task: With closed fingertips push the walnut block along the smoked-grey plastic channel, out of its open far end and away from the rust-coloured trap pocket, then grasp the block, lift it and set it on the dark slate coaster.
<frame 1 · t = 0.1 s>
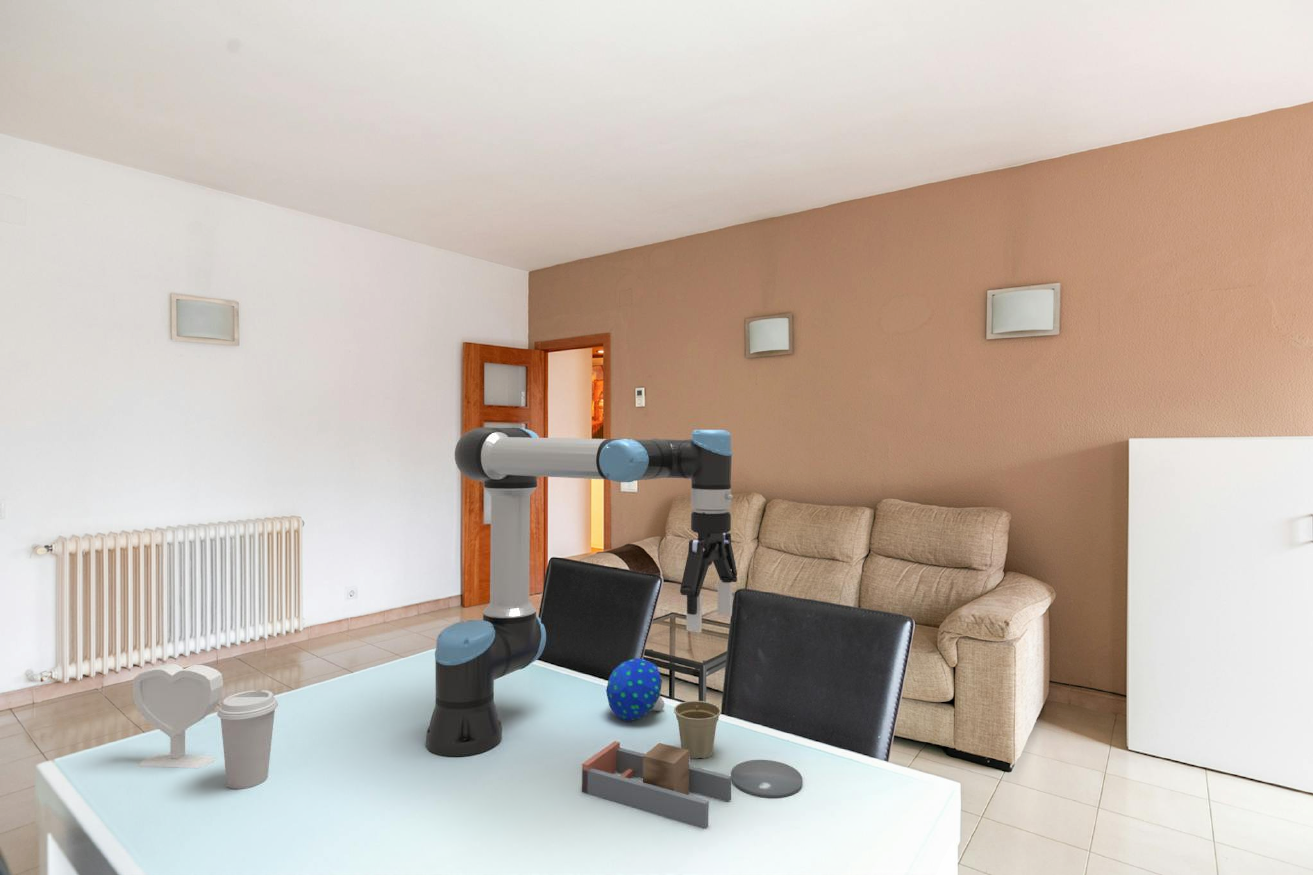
hand: (709, 623, 134), 28 cm above the table, fingers open, 13 cm apart
block: (665, 798, 124), resting in channel
channel: (655, 795, 125), on the table
coaster: (766, 779, 131), on the table
coffee cup: (247, 781, 129), on the table
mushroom: (635, 716, 160), on the table
flower pot: (697, 753, 142), on the table
heart sculpture: (177, 761, 136), on the table
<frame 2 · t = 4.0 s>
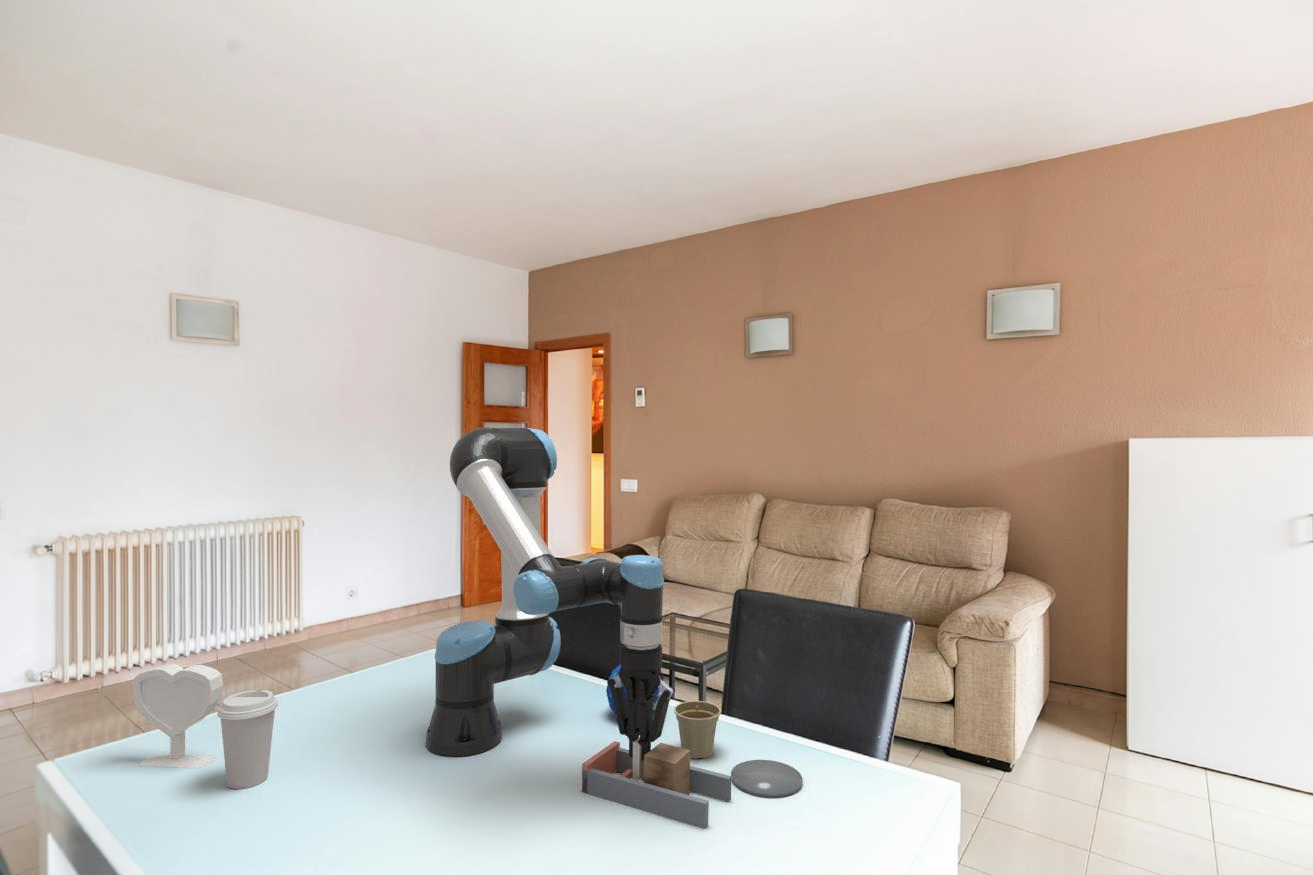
hand: (639, 776, 126), 3 cm above the table, fingers closed
block: (666, 798, 124), resting in channel, touching gripper
everything else where it was.
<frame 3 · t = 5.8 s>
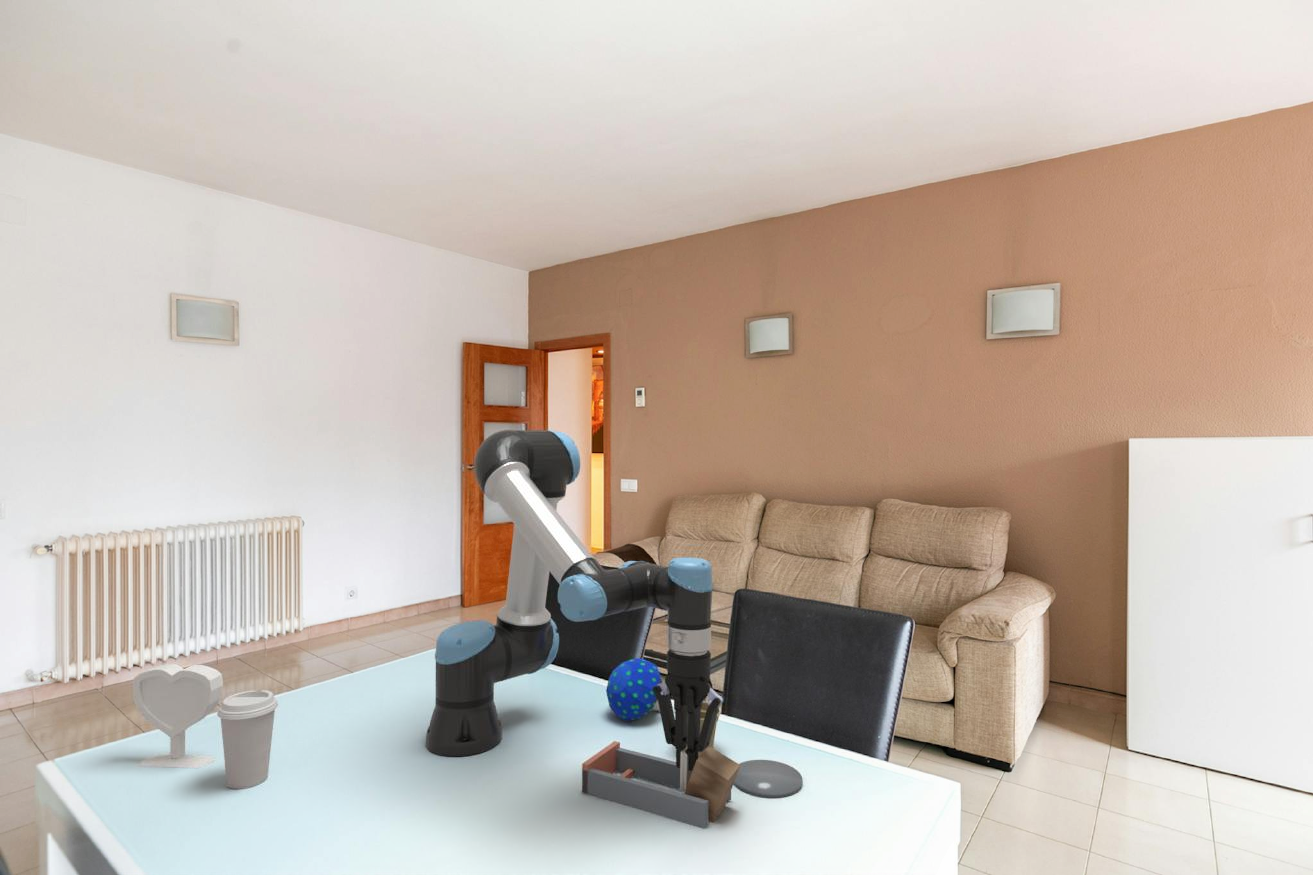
hand: (686, 787, 122), 3 cm above the table, fingers closed
block: (703, 803, 120), point 1 cm above the table, tilted 20°, touching gripper
everything else where it was.
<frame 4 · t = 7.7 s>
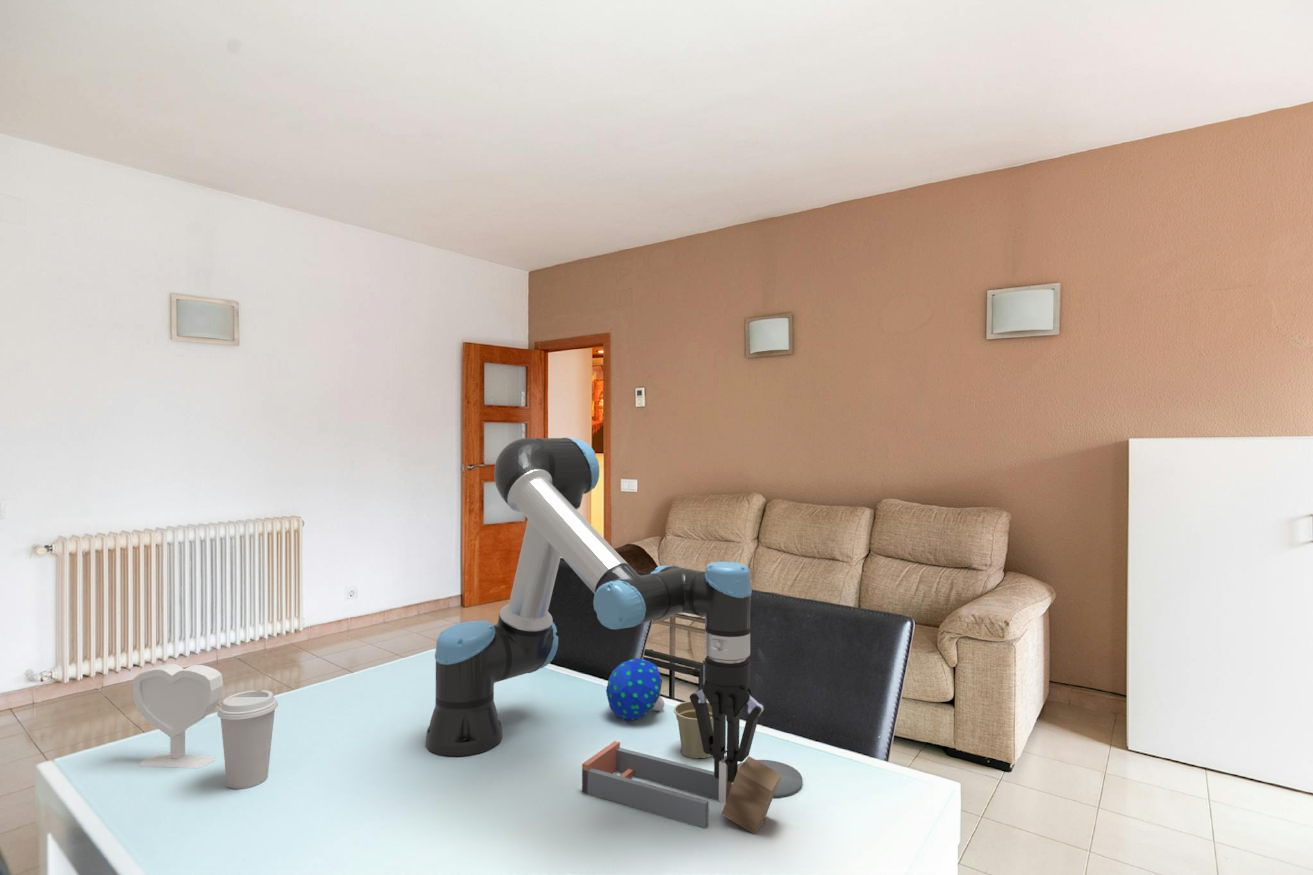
hand: (725, 798, 118), 3 cm above the table, fingers closed
block: (743, 815, 117), point 1 cm above the table, tilted 19°, touching gripper
everything else where it was.
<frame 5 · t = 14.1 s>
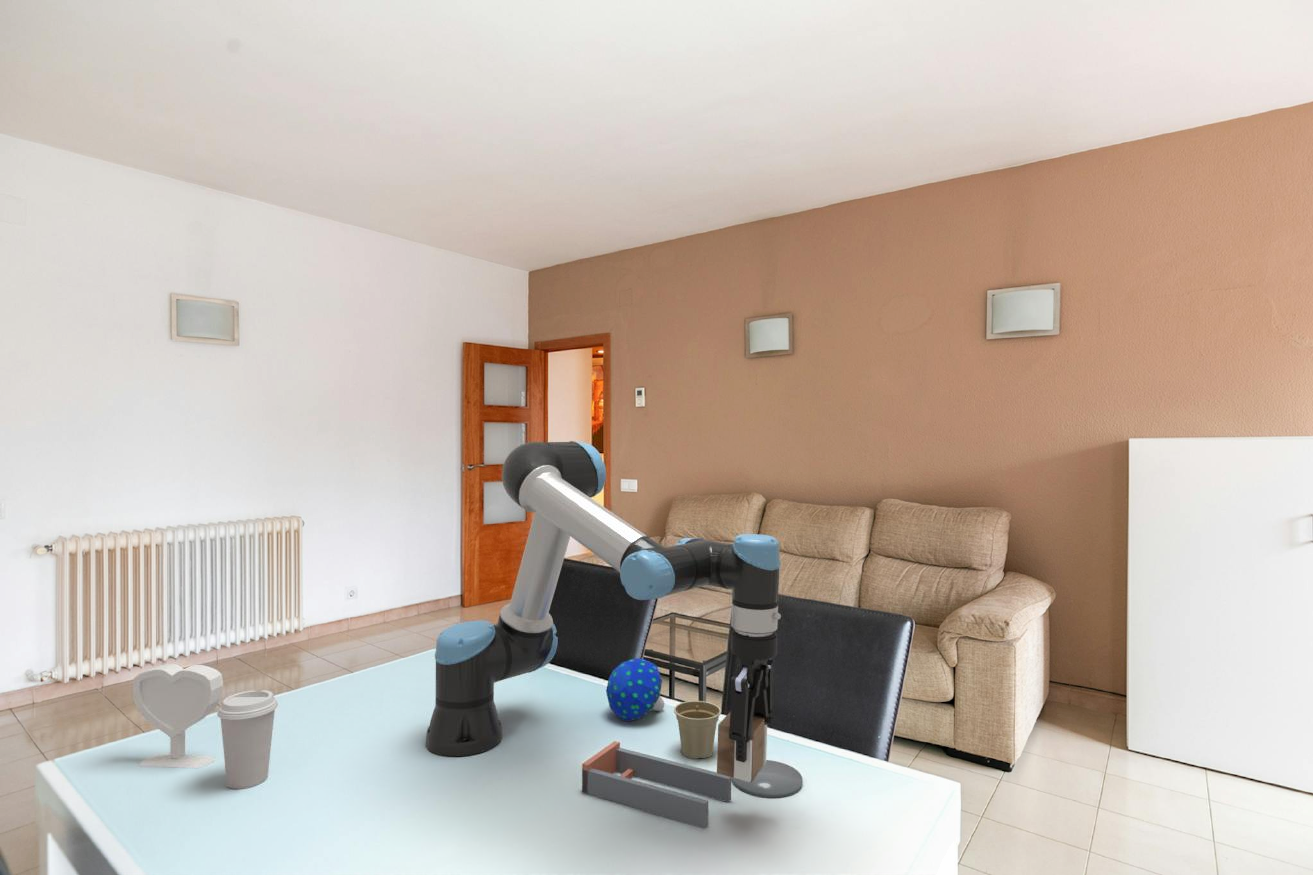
hand: (750, 769, 117), 9 cm above the table, fingers closed on block, 6 cm apart
block: (740, 769, 117), point 8 cm above the table, touching gripper
everything else where it was.
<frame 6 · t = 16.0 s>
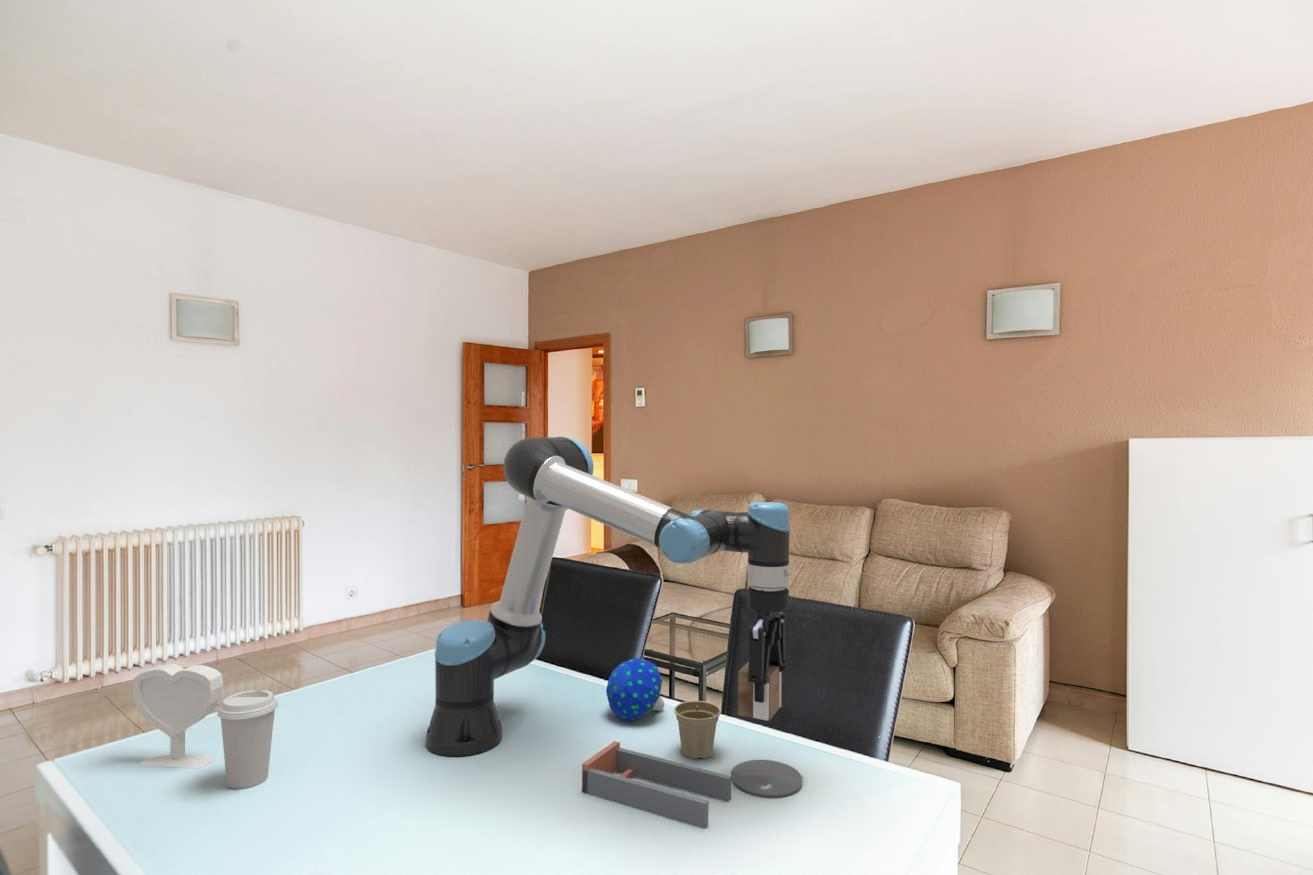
hand: (767, 711, 131), 13 cm above the table, fingers closed on block, 6 cm apart
block: (758, 711, 132), point 12 cm above the table, touching gripper
everything else where it was.
when the fingers open (1 cm above the table, at t = 18.2 s): block stays where it is, resting on coaster.
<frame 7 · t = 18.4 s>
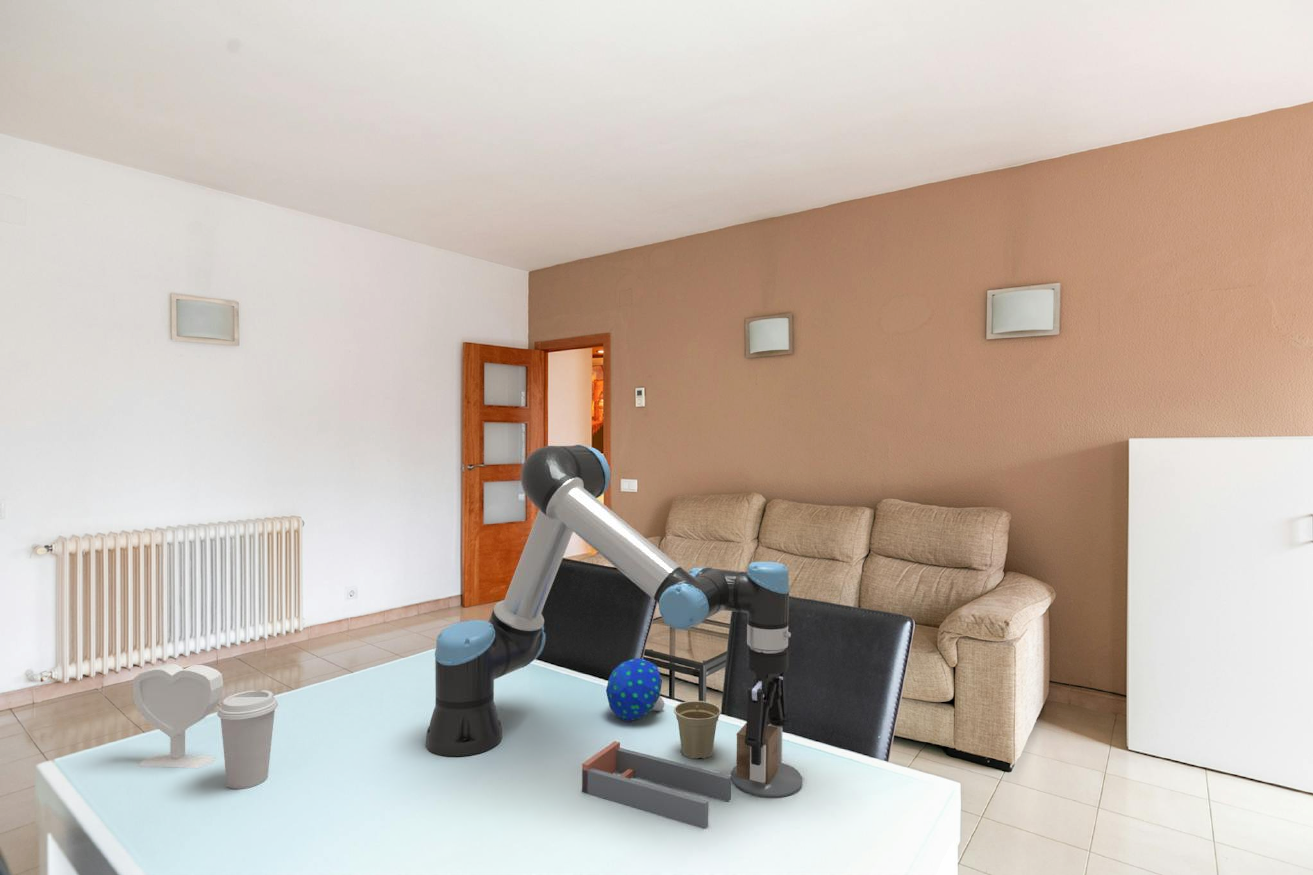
hand: (766, 770, 131), 2 cm above the table, fingers open, 8 cm apart
block: (757, 773, 132), point 1 cm above the table, touching coaster
everything else where it was.
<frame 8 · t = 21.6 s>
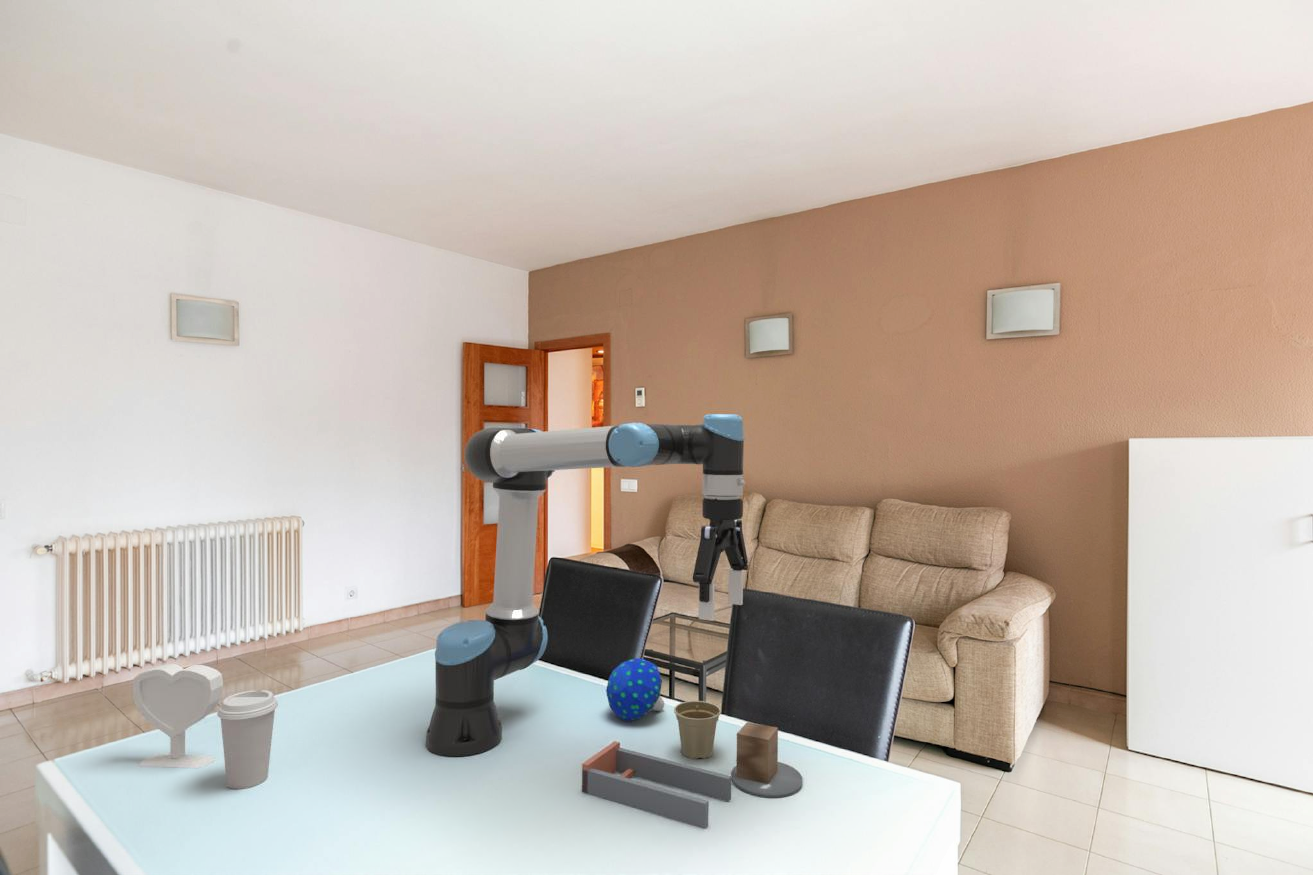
hand: (721, 611, 132), 31 cm above the table, fingers open, 13 cm apart
nothing on the table moved.
at the end: block 1.8 cm from the coaster (horizontally); block tilted 0°; block point 0.8 cm above the table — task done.
